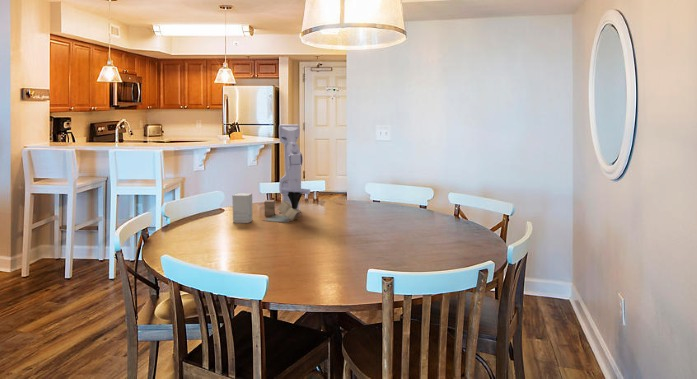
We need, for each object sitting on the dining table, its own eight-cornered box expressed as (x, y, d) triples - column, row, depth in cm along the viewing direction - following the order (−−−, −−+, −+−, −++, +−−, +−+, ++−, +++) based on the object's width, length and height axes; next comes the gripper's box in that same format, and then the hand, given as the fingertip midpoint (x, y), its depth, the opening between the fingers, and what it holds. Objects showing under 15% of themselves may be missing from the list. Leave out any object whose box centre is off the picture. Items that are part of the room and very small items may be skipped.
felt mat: (276, 215, 242) (276, 214, 242) (298, 217, 238) (298, 216, 238) (262, 220, 229) (262, 220, 229) (286, 222, 225) (286, 222, 225)
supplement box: (253, 220, 230) (252, 193, 228) (248, 223, 222) (248, 195, 221) (237, 219, 230) (237, 192, 229) (232, 222, 223) (231, 195, 221)
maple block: (296, 219, 234) (281, 208, 235) (301, 211, 232) (286, 200, 234) (292, 220, 229) (277, 209, 231) (297, 213, 228) (282, 201, 230)
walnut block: (265, 213, 245) (265, 200, 244) (274, 214, 245) (274, 200, 244) (264, 215, 241) (264, 201, 240) (273, 215, 241) (273, 201, 240)
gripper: (276, 179, 227) (276, 208, 229) (306, 181, 223) (305, 210, 225) (283, 178, 234) (283, 206, 236) (312, 179, 230) (311, 208, 231)
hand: (294, 208), depth 231 cm, fingers closed
